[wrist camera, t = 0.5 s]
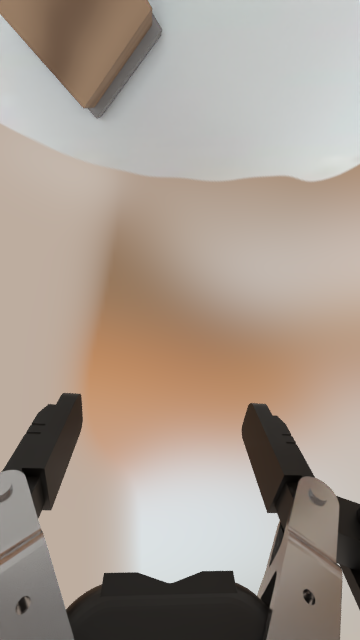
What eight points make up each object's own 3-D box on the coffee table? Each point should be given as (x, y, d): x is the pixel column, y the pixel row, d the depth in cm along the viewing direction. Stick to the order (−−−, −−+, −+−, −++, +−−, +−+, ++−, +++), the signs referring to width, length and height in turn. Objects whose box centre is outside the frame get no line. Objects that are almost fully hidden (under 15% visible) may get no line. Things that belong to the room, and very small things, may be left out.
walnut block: (10, 9, 20) (-24, -13, 16) (66, -113, 17) (42, -175, 13) (94, 107, 24) (83, 108, 20) (152, 24, 21) (151, 7, 17)
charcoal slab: (17, 19, 22) (2, 9, 20) (77, -102, 19) (67, -130, 16) (101, 117, 27) (96, 118, 25) (160, 35, 23) (161, 28, 21)
